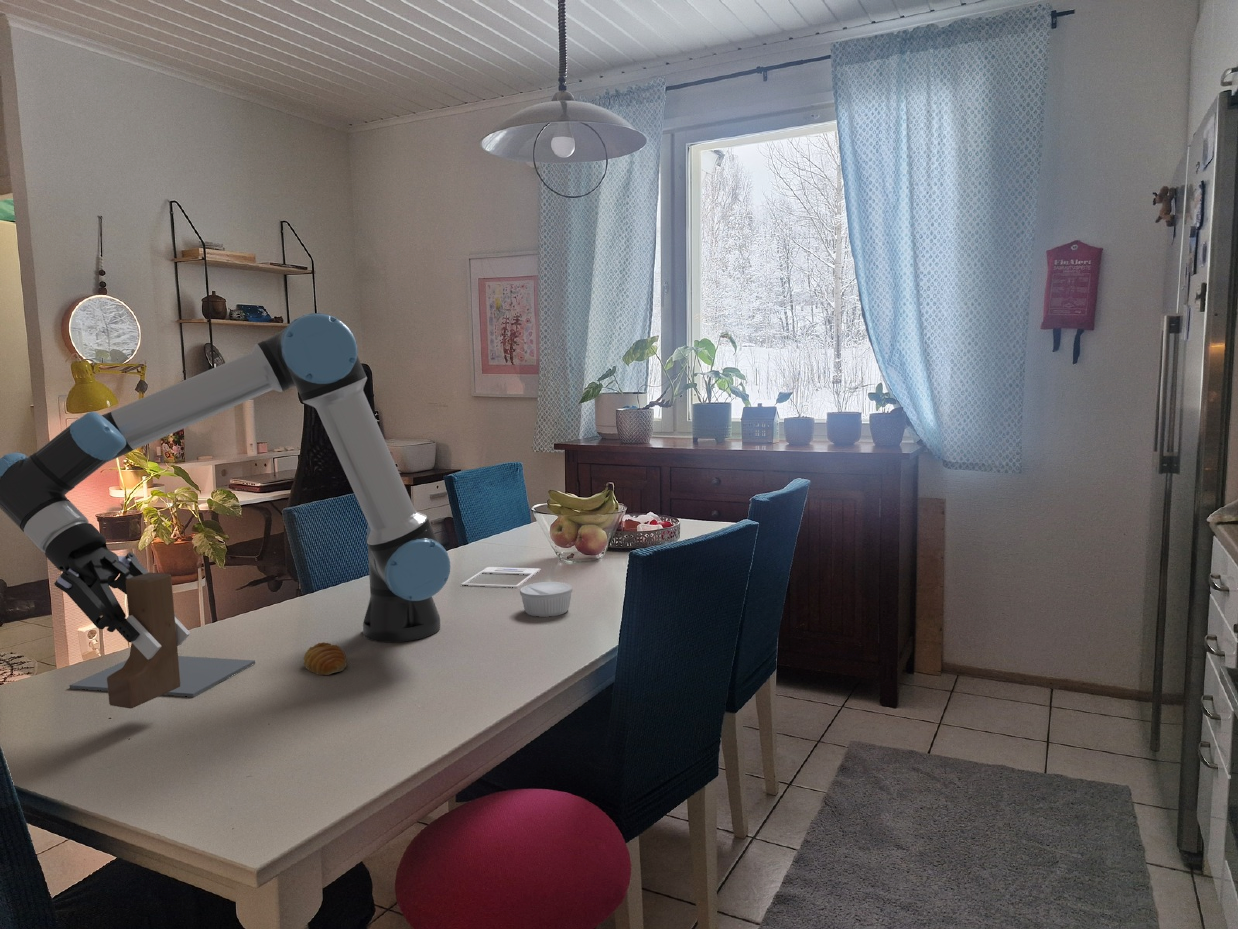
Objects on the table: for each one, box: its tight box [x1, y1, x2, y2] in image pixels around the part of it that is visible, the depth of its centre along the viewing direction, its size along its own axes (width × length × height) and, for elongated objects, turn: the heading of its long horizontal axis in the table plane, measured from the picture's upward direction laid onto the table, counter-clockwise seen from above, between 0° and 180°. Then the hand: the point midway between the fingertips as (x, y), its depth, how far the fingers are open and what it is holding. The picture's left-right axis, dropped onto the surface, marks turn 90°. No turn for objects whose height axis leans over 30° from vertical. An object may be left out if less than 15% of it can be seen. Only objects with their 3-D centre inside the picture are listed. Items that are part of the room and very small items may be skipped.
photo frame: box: [460, 566, 542, 589], centre depth 213 cm, size 15×1×18 cm
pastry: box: [303, 642, 347, 676], centre depth 150 cm, size 9×7×4 cm
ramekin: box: [519, 581, 573, 618], centre depth 182 cm, size 11×11×5 cm
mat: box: [69, 655, 256, 698], centre depth 147 cm, size 24×16×1 cm, turn 78°
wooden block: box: [107, 571, 181, 709], centre depth 126 cm, size 9×4×18 cm, turn 161°
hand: (169, 646), depth 127 cm, fingers closed on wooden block, 5 cm apart
